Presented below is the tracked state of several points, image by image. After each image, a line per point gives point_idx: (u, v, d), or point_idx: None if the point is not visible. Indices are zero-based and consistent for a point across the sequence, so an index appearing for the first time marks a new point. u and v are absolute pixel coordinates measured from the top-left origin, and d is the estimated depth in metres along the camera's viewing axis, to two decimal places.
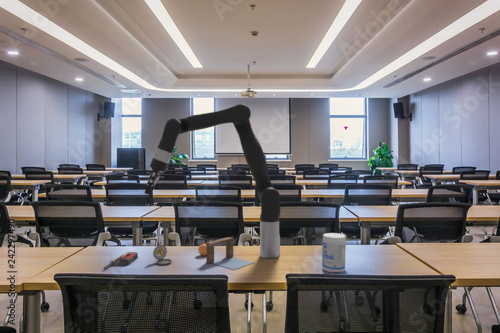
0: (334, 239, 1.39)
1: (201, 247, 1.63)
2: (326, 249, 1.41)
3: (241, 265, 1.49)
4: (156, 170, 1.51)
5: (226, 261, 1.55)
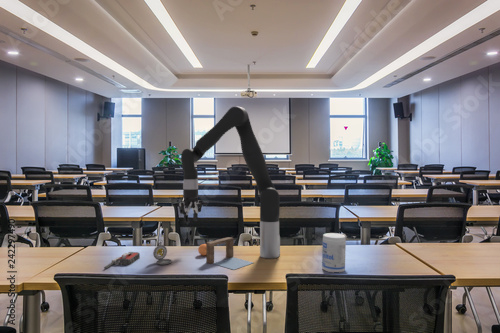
0: (334, 239, 1.39)
1: (201, 247, 1.63)
2: (326, 249, 1.41)
3: (241, 265, 1.49)
4: (185, 198, 1.69)
5: (226, 261, 1.55)
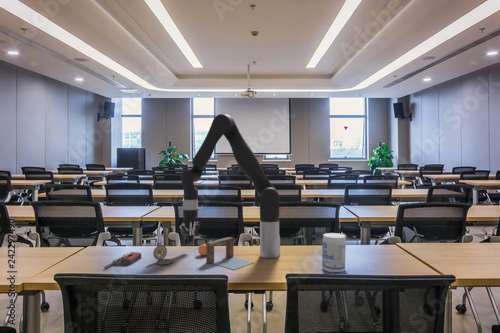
0: (334, 239, 1.39)
1: (201, 247, 1.63)
2: (326, 249, 1.41)
3: (241, 265, 1.49)
4: (184, 218, 1.69)
5: (226, 261, 1.55)
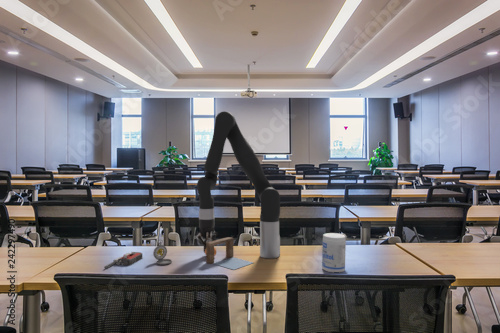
0: (334, 239, 1.39)
1: None
2: (326, 249, 1.41)
3: (241, 265, 1.49)
4: (200, 228, 1.62)
5: (226, 261, 1.55)
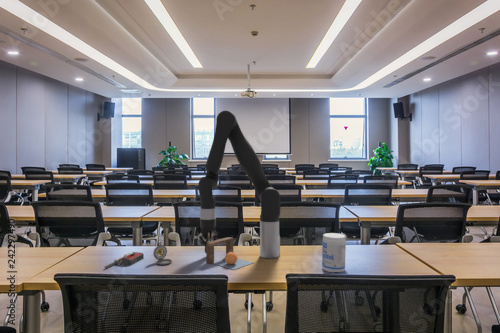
0: (334, 239, 1.39)
1: (230, 258, 1.48)
2: (326, 249, 1.41)
3: (241, 265, 1.49)
4: (202, 229, 1.60)
5: None
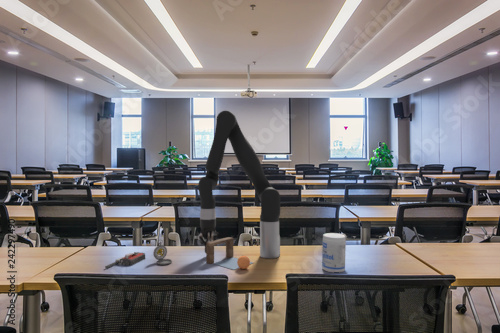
0: (334, 239, 1.39)
1: None
2: (326, 249, 1.41)
3: None
4: (202, 229, 1.60)
5: (226, 261, 1.55)
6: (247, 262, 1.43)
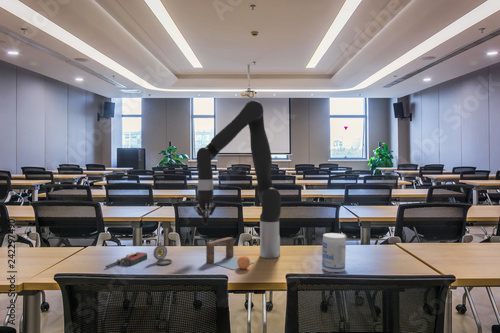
0: (334, 239, 1.39)
1: None
2: (326, 249, 1.41)
3: None
4: (199, 199, 1.61)
5: (226, 261, 1.55)
6: (247, 262, 1.43)
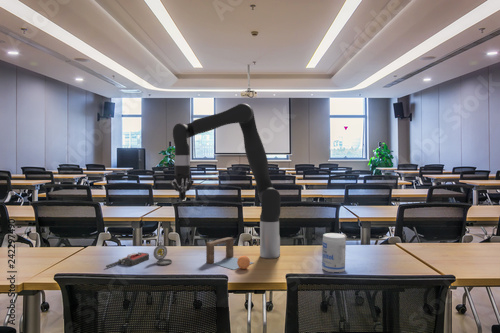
0: (334, 239, 1.39)
1: None
2: (326, 249, 1.41)
3: None
4: (176, 175, 1.63)
5: (226, 261, 1.55)
6: (247, 262, 1.43)
